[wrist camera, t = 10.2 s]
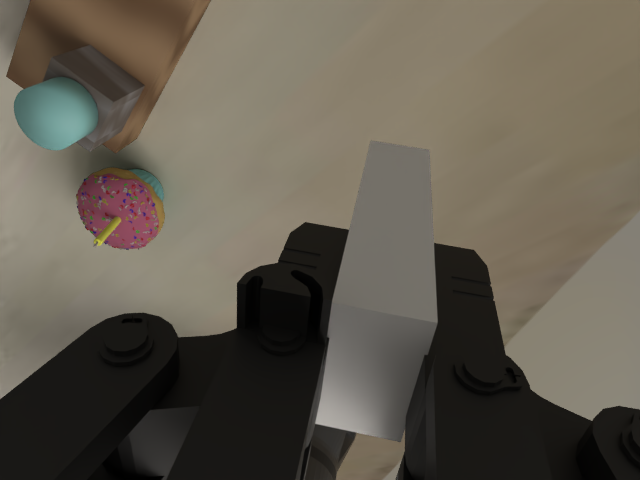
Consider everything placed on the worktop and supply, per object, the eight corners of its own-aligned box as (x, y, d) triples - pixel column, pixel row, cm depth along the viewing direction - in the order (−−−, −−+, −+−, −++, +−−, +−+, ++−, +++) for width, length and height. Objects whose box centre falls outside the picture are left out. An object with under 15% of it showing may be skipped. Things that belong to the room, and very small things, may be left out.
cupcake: (155, 142, 48) (85, 196, 38) (195, 215, 51) (141, 281, 41) (89, 165, 51) (7, 221, 40) (131, 233, 54) (66, 299, 44)
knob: (117, 128, 43) (63, 162, 36) (71, 95, 42) (6, 123, 35) (138, 87, 40) (83, 115, 34) (89, 51, 39) (24, 73, 33)
